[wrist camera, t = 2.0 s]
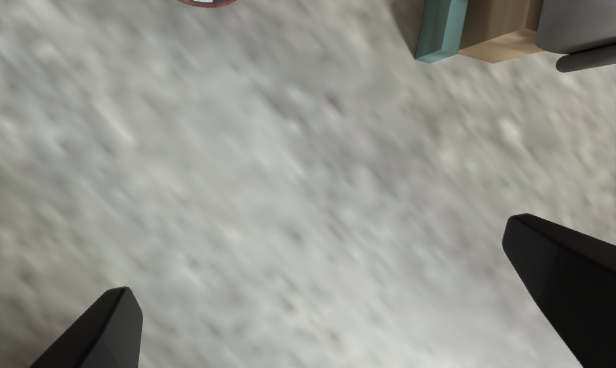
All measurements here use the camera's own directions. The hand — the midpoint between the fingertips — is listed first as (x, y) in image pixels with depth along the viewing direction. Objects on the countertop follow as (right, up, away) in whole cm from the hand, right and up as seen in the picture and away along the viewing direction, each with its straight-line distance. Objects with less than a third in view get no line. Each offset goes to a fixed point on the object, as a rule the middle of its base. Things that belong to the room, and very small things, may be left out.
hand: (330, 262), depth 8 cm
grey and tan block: (+10, +11, +13) cm, 20 cm away
